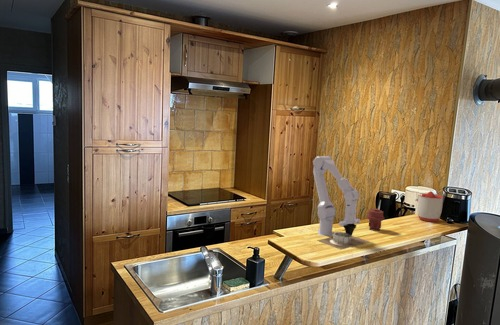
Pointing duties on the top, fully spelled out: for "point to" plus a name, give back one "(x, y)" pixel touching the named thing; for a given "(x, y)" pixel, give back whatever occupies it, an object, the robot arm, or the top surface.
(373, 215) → the mechanical component
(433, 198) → the citrus juicer
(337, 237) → the steel bearing ring
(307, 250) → the top surface
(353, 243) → the seat board
